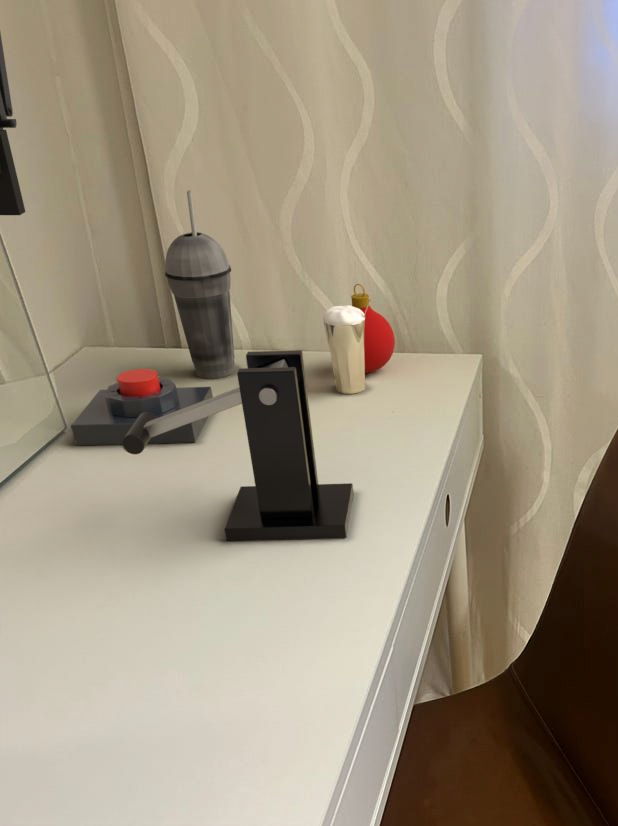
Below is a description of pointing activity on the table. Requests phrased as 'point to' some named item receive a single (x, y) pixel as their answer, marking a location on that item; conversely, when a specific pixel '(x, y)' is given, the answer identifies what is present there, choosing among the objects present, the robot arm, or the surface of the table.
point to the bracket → (283, 459)
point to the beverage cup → (202, 299)
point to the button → (138, 382)
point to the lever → (180, 417)
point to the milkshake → (346, 346)
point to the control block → (137, 414)
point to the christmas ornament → (374, 334)
